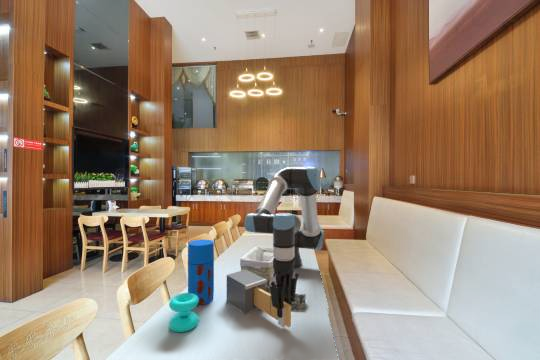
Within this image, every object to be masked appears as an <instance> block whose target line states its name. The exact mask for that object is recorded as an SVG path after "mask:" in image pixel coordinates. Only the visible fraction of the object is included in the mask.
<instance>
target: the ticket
mask: <svg viewBox="0 0 540 360" xmlns="http://www.w3.org/2000/svg"><path fill="white" fill-rule="evenodd" d="M253 305H255V306H256V307H258V308H259V310H260V311H262V312H264V313H265V314H267V315H269V316H271V317H272V318H274V319H275V320H276V321H278V316H277V308H275V307H273V306H272V300H271V293H270V292H269V291H264V290H262V289H260V288H258V287H256V286H255V287H253ZM283 307H284V308H285V327H287V328H290V327H291V326H292V308H291V305H290V304H288V303H286V302H284V303H283Z"/></svg>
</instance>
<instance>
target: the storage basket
mask: <svg viewBox="0 0 540 360" xmlns="http://www.w3.org/2000/svg"><path fill="white" fill-rule="evenodd" d="M264 253H271V254H273V247H269V246H255V247H253V248H251V250H249V251H248V252H247V253H245V255H242V256H241V258H239V263H240V264H239V266H240V271H242V270H248V271H250V272H252V273H254V274H256V275H258V276H260V277H262V278H264V279H266V280H267V283H265V291H266V292H270V286H269V285H268V280H270V281H271V280H272V279H273V278H274V277H273V275H274V269H273V258H274V257H273V255H264Z"/></svg>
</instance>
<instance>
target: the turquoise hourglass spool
mask: <svg viewBox="0 0 540 360" xmlns="http://www.w3.org/2000/svg"><path fill="white" fill-rule="evenodd" d="M198 302H199V299H198V296H197V295H195V294H193V293H188V292H181V293H179V294H176V295H175V296H173V297H172V298H171V299H170V301H169V308H170V310H172V311H174V312H176V314H174V315H173V316H172V317H171V319H170V320H169V323H168V326H169V328H170V329H171V331H173V332H176V333H184V332H189V331H190V330H192V329H194V328H195V327H196V326H197V325H198V323H199V320H200V319H199V315H198V314H197V313H196V312H195V311H192V310H194V309H195V308H196V307H197V304H198Z"/></svg>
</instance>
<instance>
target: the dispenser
mask: <svg viewBox="0 0 540 360" xmlns="http://www.w3.org/2000/svg"><path fill="white" fill-rule="evenodd" d="M265 283H267V280H266V279H264V278H262V277H260V276H258V275H256V274H254V273H252V272H250V271H248V270H242V271H241V270H240V271H235V272H233V273H232V272H231V273H228V274H226V301H227V302H228V303H229V304H231V305H232V306H233V307H235V308H236V309H237V310H238V311H240V312H241V313H243V314H244V315H246V314H249V313H252V312H253V311H256V310H258V309H259V308H258V307H256V306H255V305H253V287H255V286H256V287H258V288H260V289H262V290H264V291H265ZM259 310H260V309H259Z"/></svg>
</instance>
